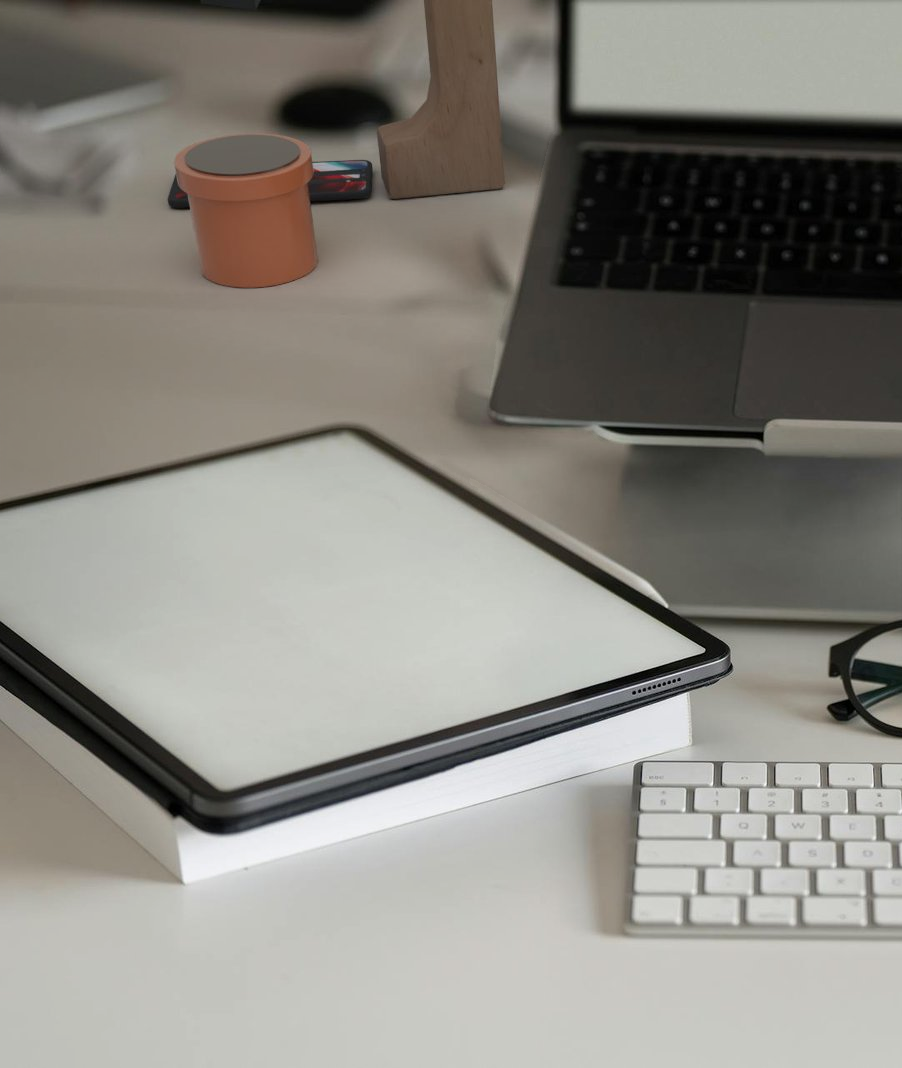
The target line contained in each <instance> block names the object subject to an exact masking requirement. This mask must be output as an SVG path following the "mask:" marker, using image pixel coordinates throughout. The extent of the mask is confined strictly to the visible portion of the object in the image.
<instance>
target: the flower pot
mask: <svg viewBox="0 0 902 1068" xmlns="http://www.w3.org/2000/svg"><path fill="white" fill-rule="evenodd" d="M173 159H174V160H173V166H174V170H175V175H176V177H177V182H178V185H179V187H180V188H181V189H182V190H183V191H184V192H186V193H187V194H188V200H189V206H190V207H189V211H190V216H191V217H190V218H191V222H192V223H191V224H192V228H193V233H194V238H195V245H196V250H197V256H198V263H199V268H200V272H201V274H202V276H204V278H206V279H207V280H209V281H210V282H212V283H215V284H218V285H221V286H226V287H231V288H243V289H252V288H253V289H254V288H265V287H274V286H279V285H283V284H286V283H290V282H293V281H296V280H298V279H300V278H303V277H305V276H306V275H309V273H311V272H312V271H313V270H315V268H316V267H317V265H318V264H319V263H318V262H319V255H318V248H317V239H316V233H315V227H314V219H313V211H312V205H311V204H312V203H311V201H310V196H309V188H308V182H309V181H310V180H311V178H312V177H313V174H314V170H313V162H314V161H313V155H312V150H311V148H310V147H309V146H308V145H307V144H306V143H305V142H303V141H301V140H299V139H297V138H293V137H290V136H286V135H282V134H281V135H280V134H273V133H237V134H229V135H222V136H217V137H216V136H215V137H211V138H208V139H204V140H201V141H198V142H195V143H193V144H191V145H189V146H186V147H185V148H183V149H182V150H180V151H179V152H178V153H177V154H176V155H175V157H174V158H173Z"/></svg>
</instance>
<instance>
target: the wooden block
mask: <svg viewBox="0 0 902 1068" xmlns="http://www.w3.org/2000/svg"><path fill="white" fill-rule="evenodd" d="M423 6H424V19H425V29H426V41H427V52H428V62H429V72H430V73H429V74H430V78H429V83H428V90H427V95H426V99H425V101H424V102H423V103H422V104H421V105H420V107H419V108H418V109H417V111H415V112H414V114H413V115H412V116H411V117H409V118H406V119H402V120H398V121H393V122H391V123H387V124H383V125H380V126H379V127H377V129H376V137H377V145H378V155H379V164H380V174H381V179H382V181H383V184H384V187H385V189H386V192H387V194H388V196H389V198H390V199H393V200H398V199H399V200H400V199H407V198H408V199H409V198H418V197H428V196H437V195H448V194H449V195H450V194H457V193H469V192H478V191H489V190H490V191H491V190H499V189H503V188H504V186H505V184H506V182H505V181H506V180H505V170H504V169H505V168H504V167H505V166H504V155H503V140H502V139H503V138H502V126H501V112H500V111H501V110H500V98H499V97H500V96H499V79H498V68H497V67H498V66H497V53H496V52H497V51H496V38H495V24H494V8H493V7H494V6H493V0H423Z"/></svg>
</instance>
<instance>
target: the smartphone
mask: <svg viewBox="0 0 902 1068" xmlns="http://www.w3.org/2000/svg"><path fill="white" fill-rule="evenodd" d="M312 162H313V170H314V174H313V177H312V178H311V180H310V181H309V182H308V188H309V196H310V202H323V201H344V200H361V199H366V198H369V196H371V194H372V183H373V163H372V161H370V160H367V159H349V160H348V159H345V160H323V161H312ZM167 203H168V205H169V207H172V208H177V209H179V208H180V209H181V208H182V209H183V208H190V206H189V200H188V194H187V193H186V192H184V191H183V190H182V189H181V188H180V187H179V185H178V182H177V177H176V174H175V175H174V177H173V181H172V184H171V187H170V190H169V192H168V195H167Z"/></svg>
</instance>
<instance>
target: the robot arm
mask: <svg viewBox="0 0 902 1068" xmlns="http://www.w3.org/2000/svg"><path fill="white" fill-rule="evenodd" d="M199 1H200V4H201V5H207V6H216V7H225V8H234V9H242V10H249V11H250V10H251V11H256V10H257V9H258V6H259V4H260V2H261V0H199Z"/></svg>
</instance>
